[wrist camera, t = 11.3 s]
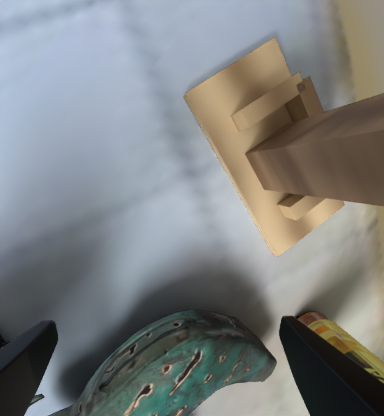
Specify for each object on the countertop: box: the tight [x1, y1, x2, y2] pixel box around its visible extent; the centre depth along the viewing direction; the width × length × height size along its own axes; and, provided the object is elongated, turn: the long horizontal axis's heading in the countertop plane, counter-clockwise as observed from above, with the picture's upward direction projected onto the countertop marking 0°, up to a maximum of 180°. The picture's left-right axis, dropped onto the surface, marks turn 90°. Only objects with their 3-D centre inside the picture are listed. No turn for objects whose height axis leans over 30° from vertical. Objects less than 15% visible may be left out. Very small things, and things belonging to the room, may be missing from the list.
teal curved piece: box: [29, 310, 277, 416], centre depth 18 cm, size 20×6×20 cm
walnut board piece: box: [245, 93, 384, 206], centre depth 14 cm, size 5×4×12 cm
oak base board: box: [184, 37, 345, 256], centre depth 20 cm, size 10×18×3 cm, turn 33°
